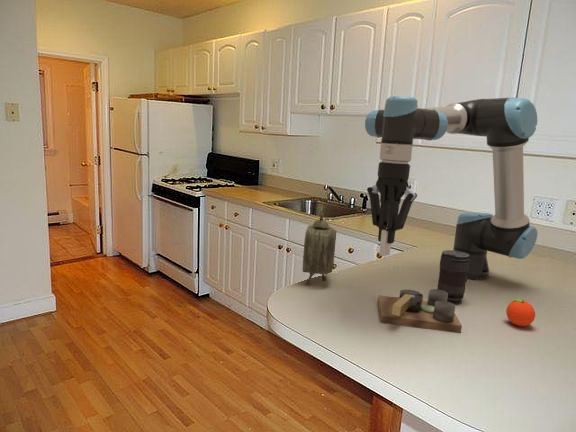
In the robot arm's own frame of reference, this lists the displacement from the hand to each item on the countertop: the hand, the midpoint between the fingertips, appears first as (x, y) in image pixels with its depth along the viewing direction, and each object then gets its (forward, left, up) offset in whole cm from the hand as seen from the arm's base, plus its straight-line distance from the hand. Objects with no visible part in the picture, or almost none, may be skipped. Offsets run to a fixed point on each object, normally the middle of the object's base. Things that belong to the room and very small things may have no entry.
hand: (384, 254), depth 108 cm
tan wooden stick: (-7, -2, -16) cm, 17 cm away
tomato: (-38, -9, -18) cm, 43 cm away
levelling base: (-11, -6, -18) cm, 22 cm away
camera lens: (-23, -22, -18) cm, 37 cm away
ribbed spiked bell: (+18, -26, -18) cm, 37 cm away
